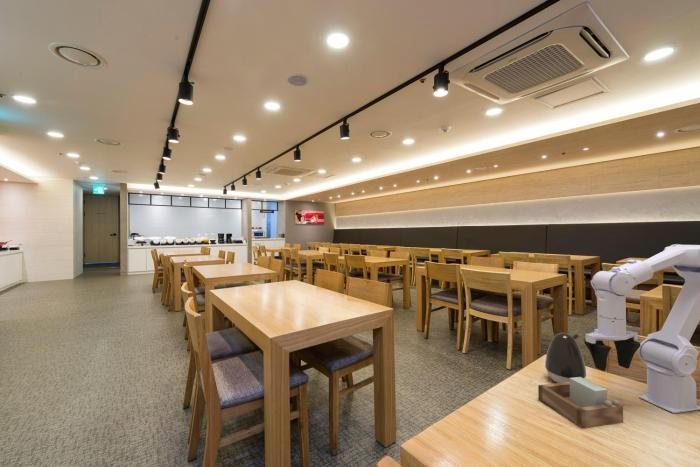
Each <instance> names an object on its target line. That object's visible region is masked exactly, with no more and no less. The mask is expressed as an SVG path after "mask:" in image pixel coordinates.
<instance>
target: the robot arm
mask: <svg viewBox="0 0 700 467" xmlns="http://www.w3.org/2000/svg"><path fill="white" fill-rule="evenodd" d="M670 267H671V268H672V269H673V270H674V271H675V272H676V273H677V275H678V276H679V277H681V278H683V279H684V281H685V282H684V284H683V285H682V287H681V290H680V292H679V293H678V295H677V298H676V300H675V302H674V304H673V306H672V308H671V309H670V310H669V311H670V312H669V314H668V316H667V318H666V320H665V321H664V323H663V326H662V328H661V329H660V330H658V331H654V332H652V333H648V334H647V336H646V337H645V339H644V340H643V341H642V342H639V341H638V338H639V336H638V335H639V334H638V332H635V331H632V330H627V311H626V310H627V308H626V306H627V304H626V303H627V302H626V301H627V299H626V297H627V296H626V295H629V294H630V293H631V291H632V290H633V288H634V287H636V286H637V285H639V284H642V283H644V282H647V281H649V280H651V279H652V278H653V276H654V273H656V272H660V271H661V270H665V269H669V268H670ZM590 285H591V287H592V288H593V290H594V294H595V295H594V296H596V303H597V304H596V307H597V308H596V309H597V310H596V311H597V312H596V313H597V318H596V319H597V328H594V329H593V330H594V331H593V332H590V333H585V338H584V341H583V342H584V344H585V346H586V347H587V349H588V351H589V353H590V355H591V358H592V360H593V363H594V367H595V369H598V370H600V371H602V372H605V371H606V370H607V366H608V365H607V362H608V355H609V353H610V351H611V349H612V347H611V346H609V345H606V344H605V343H606V342H613V343H614V347H615V351H616V358H617V364H618V366H619V367H623V369H628V370H629V369H630V366H631V363H632V360H633V359H634V358H633V357H634V356H635V354H636V352H637V354H638V356H639V358H640V359H641V360H642V361H643V365H644V366H646V387H647V388H646V390H647V391H646V392H647V393H646V394H645V393H644V394H639V395H638V396H637V397H638V398H639V399H642V400H644V401H646V402H647V403H651V404H653V405H654V406H657V407H659V408H661V409H663V410H666V411H667V412H670V413H672V414H679V413H686V412H694V411H698V410H699V411H700V406H699V405H697V382H696V380H695V379H694V377H693V376H692V374H693V373H695V371H696V369H697V358H698V356H699V355H700V354H699V353H700V352H699V351H698V350H697V348H696V347H694V345H693V344H692V342H690V341H691V338H692V336H693V334H694V333H695V330H696V329H697V327H698V325H699V322H700V244H679V243H675V244H671V245H669V246H666V247H664V249H663V251H661V252H659V253H657V254H655V255H653V256H651V257H649V258H647V259H644V260H643V261H642V260H640V259H631V258H630V259H628V260H626V263H624V264H621V265H619V266H613V267H611V269H610V270H608V271H605V270H600V271H598V272H596V273H595V274H594V275H593V276H592V279H591V280H590ZM604 342H605V343H604Z"/></svg>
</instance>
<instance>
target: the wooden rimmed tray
mask: <svg viewBox="0 0 700 467" xmlns="http://www.w3.org/2000/svg"><path fill="white" fill-rule="evenodd" d="M537 387H538V389H537V390H538V397H537V398H538V401H540V402H541V403H543V404H544V405H546V406H547V407H549V408H550V409H552V410H553V411H555V412H556V413H558V414H559V415H561V416H563V417H564V418H565V419H567V420H568V421H570V422H571V423H572V424H574V425H576V426H577V427H579V428H580V429H587V428H594V427H601V426H606V425H607V426H608V425H614V424H620V423H624V405H623V404H621V403H620V401H619V400H617V399H616V398H612V399H611V401H610V400H608V399H607V400H604V405H597V406H590V407H580V406H579V405H577V404H575V403H574V402H572V401H570V382H563V383H557V382H555V383H548V384H538V386H537Z"/></svg>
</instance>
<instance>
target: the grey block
mask: <svg viewBox="0 0 700 467" xmlns="http://www.w3.org/2000/svg"><path fill="white" fill-rule="evenodd" d="M604 400H608V389H607V388H604V387H603V386H600V385H598V384H597V383H594V382H592V381H590V380H589V379H586V378H582V377H574V378H570V401H572V402H574V403H575V404H577V405H579V406H580V407H590V406H597V405H604Z"/></svg>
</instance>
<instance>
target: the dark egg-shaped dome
mask: <svg viewBox="0 0 700 467" xmlns="http://www.w3.org/2000/svg"><path fill="white" fill-rule="evenodd" d="M579 337H580V336H579V335H578V334H577V333H575V334H573V335H571V334H569V333H567V332H559V333H557V334H555V335H554V337H553V338H552V339H551V341H550V343H549V345H548V349H547V350H546V351H547V352H546V356H545V362H544V367H545V369H546V372H547V374H548V376H549V378H550V379H551V380H552V381H554V382H555V383H563V382H570V378H574V377H582V378H584V379H586V377H587V368H586V364H585V360H584V357H583V354H582V350H581V347H580V345H579V344H578V342H577V339H578V338H579Z"/></svg>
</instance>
